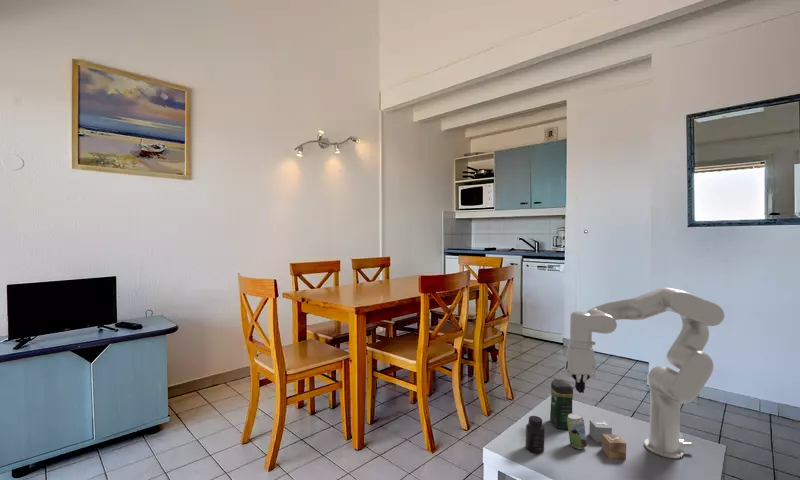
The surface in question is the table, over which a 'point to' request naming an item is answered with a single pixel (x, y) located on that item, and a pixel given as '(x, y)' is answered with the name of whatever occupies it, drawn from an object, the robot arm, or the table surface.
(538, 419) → the supplement bottle
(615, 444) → the walnut digit block
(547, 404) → the table surface
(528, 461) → the table surface
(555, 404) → the coffee jar
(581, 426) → the beverage can
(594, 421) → the slate digit block
